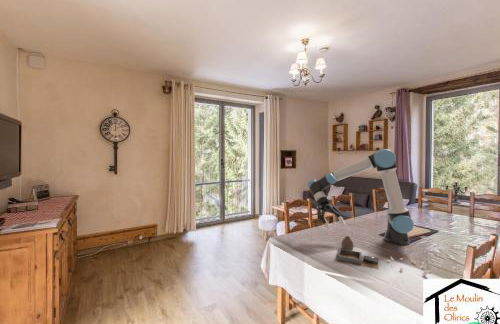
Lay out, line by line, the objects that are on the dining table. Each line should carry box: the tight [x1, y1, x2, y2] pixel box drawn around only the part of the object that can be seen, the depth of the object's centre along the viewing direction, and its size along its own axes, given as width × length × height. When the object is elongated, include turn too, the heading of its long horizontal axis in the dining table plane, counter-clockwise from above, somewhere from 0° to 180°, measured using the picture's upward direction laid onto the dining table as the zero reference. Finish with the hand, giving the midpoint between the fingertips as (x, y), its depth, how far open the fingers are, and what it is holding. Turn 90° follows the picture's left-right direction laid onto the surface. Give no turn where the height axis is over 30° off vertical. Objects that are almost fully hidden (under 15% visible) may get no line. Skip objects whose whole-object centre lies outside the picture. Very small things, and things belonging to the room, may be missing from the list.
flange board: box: [337, 254, 379, 270], centre depth 134 cm, size 20×14×1 cm
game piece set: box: [386, 256, 432, 277], centre depth 128 cm, size 19×20×4 cm
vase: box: [340, 235, 354, 251], centre depth 149 cm, size 7×7×9 cm
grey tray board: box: [336, 248, 379, 266], centre depth 134 cm, size 20×12×3 cm, turn 65°
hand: (336, 226), depth 157 cm, fingers open, 13 cm apart
